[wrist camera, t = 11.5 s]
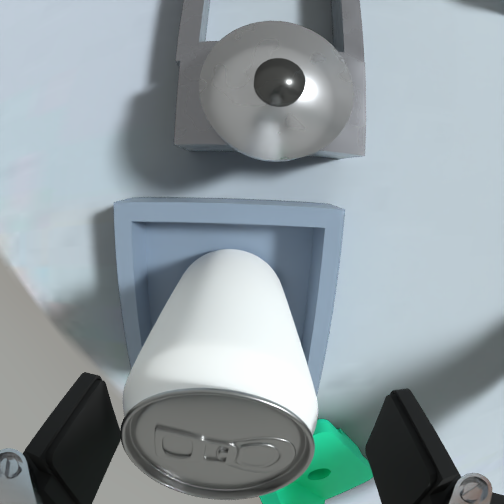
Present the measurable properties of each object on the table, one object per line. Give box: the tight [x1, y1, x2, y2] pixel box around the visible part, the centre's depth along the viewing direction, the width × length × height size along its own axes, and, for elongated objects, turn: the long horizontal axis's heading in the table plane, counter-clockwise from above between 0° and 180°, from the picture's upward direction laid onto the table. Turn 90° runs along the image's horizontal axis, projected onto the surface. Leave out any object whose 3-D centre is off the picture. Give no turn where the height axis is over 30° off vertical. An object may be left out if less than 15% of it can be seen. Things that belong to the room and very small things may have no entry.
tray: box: [114, 197, 345, 396], centre depth 18 cm, size 12×12×3 cm
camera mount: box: [259, 419, 373, 504], centre depth 19 cm, size 12×8×10 cm, turn 36°
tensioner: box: [174, 0, 366, 162], centre depth 12 cm, size 10×16×6 cm, turn 178°
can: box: [120, 249, 318, 500], centre depth 13 cm, size 6×6×12 cm
